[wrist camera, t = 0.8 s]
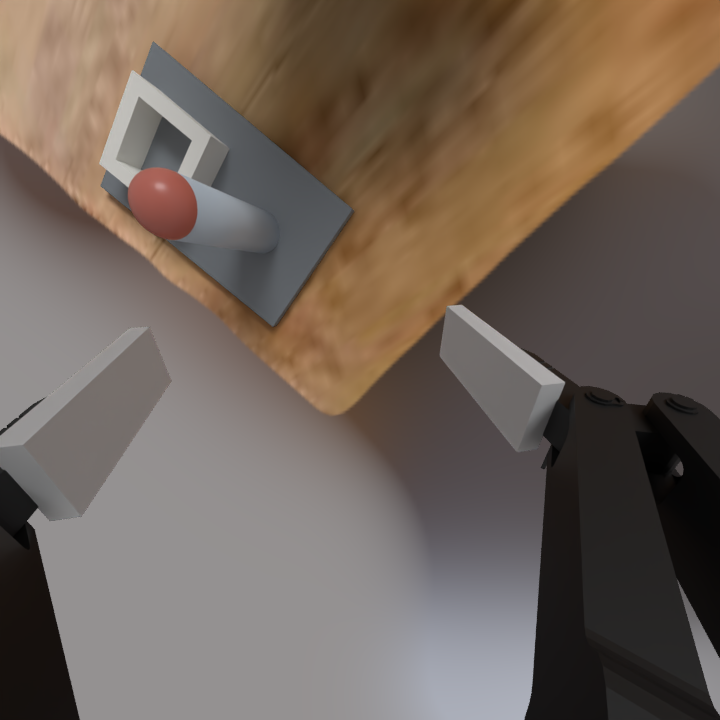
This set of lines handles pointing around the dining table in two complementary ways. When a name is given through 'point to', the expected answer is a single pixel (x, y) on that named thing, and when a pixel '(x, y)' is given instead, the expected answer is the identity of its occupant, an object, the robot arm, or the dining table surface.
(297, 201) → the jig
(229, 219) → the red-tipped grey joystick
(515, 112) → the dining table surface
